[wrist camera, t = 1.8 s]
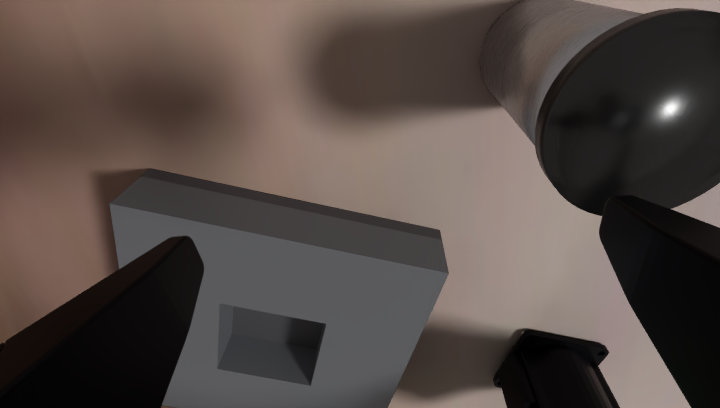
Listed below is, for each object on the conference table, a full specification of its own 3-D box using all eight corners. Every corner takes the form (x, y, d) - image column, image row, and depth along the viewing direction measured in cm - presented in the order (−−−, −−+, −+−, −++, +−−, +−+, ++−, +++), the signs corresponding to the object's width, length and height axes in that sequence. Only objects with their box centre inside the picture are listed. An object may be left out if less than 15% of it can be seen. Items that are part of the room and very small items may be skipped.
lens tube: (619, 4, 17) (841, 44, 9) (559, 121, 20) (684, 234, 12) (501, -27, 17) (615, -16, 9) (457, 97, 20) (510, 195, 12)
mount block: (439, 230, 24) (448, 273, 21) (373, 393, 34) (372, 441, 30) (149, 168, 23) (109, 203, 20) (164, 355, 33) (138, 401, 29)
